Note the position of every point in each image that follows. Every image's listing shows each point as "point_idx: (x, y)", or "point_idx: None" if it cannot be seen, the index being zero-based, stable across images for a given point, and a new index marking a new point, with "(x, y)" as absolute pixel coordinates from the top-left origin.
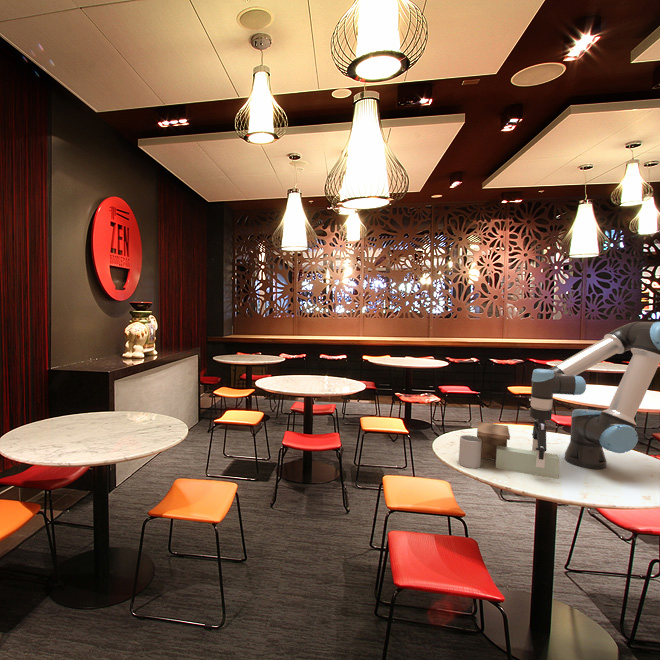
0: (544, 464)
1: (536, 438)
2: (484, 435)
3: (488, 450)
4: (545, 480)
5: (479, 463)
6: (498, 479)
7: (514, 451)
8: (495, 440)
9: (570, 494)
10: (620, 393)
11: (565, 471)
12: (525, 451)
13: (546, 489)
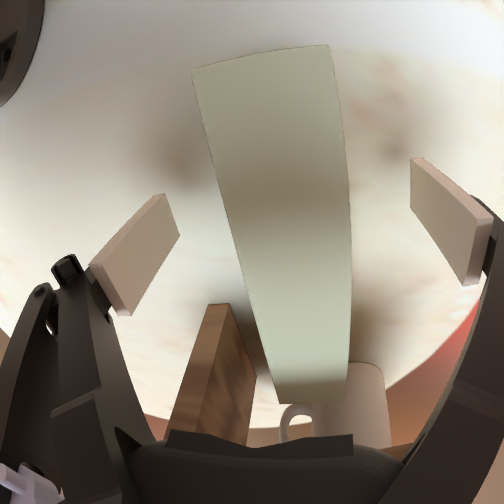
0: (432, 166)
1: (98, 300)
2: None
3: (242, 381)
4: (388, 128)
5: (367, 374)
6: (454, 305)
7: (341, 352)
8: (225, 412)
9: (489, 45)
10: None
11: (147, 41)
12: (296, 306)
13: (491, 140)
